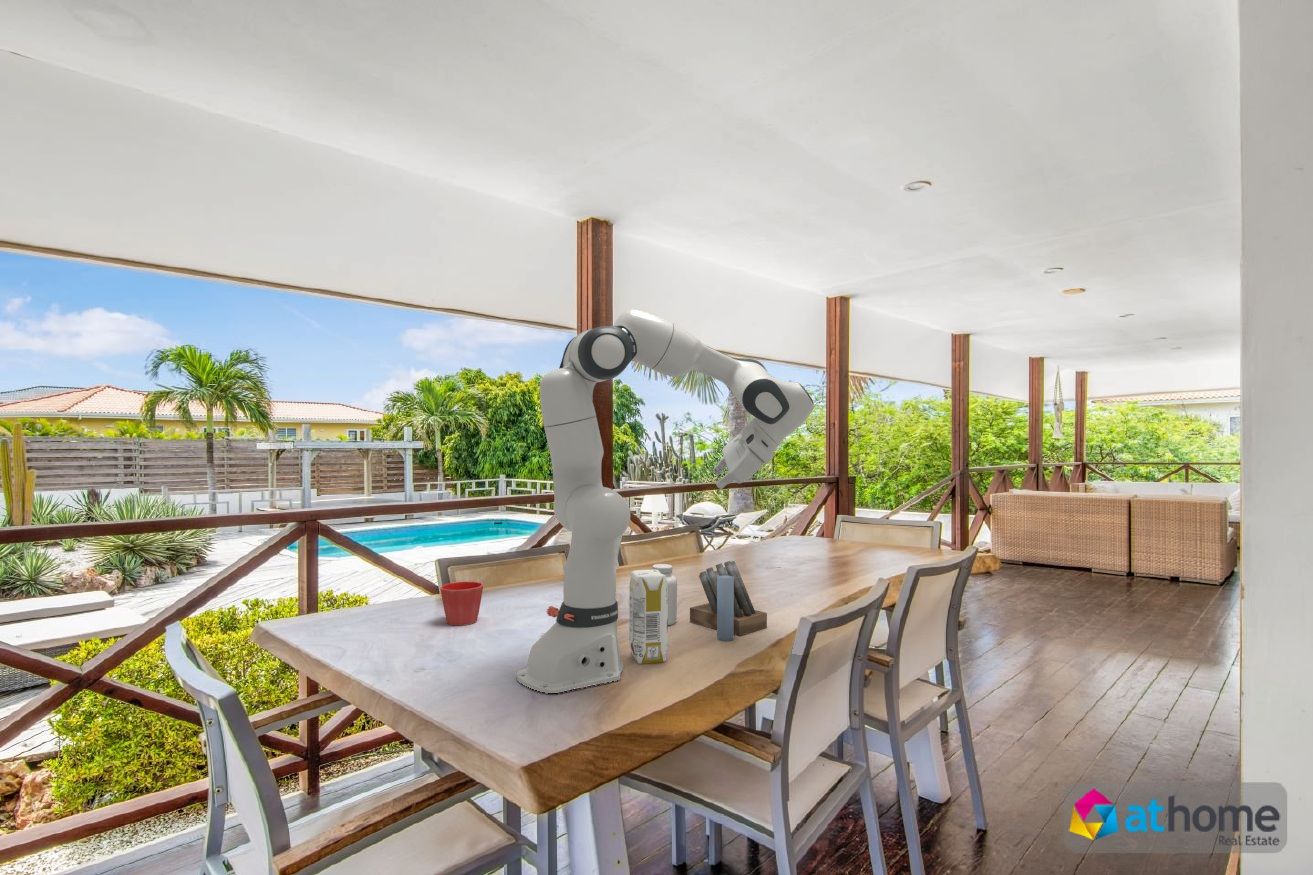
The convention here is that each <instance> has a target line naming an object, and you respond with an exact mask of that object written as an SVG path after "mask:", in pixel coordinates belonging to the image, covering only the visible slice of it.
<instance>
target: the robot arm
mask: <svg viewBox="0 0 1313 875" xmlns="http://www.w3.org/2000/svg"><path fill="white" fill-rule="evenodd" d="M631 362H635V363H639V364H641V365H642V366H645V367H647V368H648V369H651V370H652V371H654V372H657V373H659V374H662V375H665V376H668V377H672V378H682V377H683V376H686V375H687V374H689V373H690V372H691V371H696V372H699V373H701V374H703V375H706V376H708V377H711V378H712V379H714V380H717V381H719V382H722V383H723V385H725V387H726V388H728V390H729V391H730V393H731V394H732V395H733V396H734V397H735V399H736V400H737V401H738V403H739V405H740V406H741V407H742V409H743V410H744V411H746V413H747V414H748V415H751V416H753V418H752V419H751V420H750V421H749V422H748V423H747V424H746V425H744V427H743V428H742V429H741V430H740V431H739V433H738V434H737V435H736V436H735V437H734V438H732V439H731V440H730V441H729V442H728V443H726V445H724V447H723V449H722V454H723V456H722V457H721V458H720V460H719V461H718V463H717V465H716V466H714V468H713V469H712V473H713V474H714V475H715V476H718V477H719V476H720V475H721V474H722V473H723V471H724V469H725V468H727V470H728V471H727V472H726V473H725V475H724V476H723V477H720V478H718V479H717V481H716V482H715V485H716V487H717V488H718V489H720V490H723V489H724V488H725V487H726V486H727V485H729V484H731V483H733V482H734V481H735V482H736V483H737V484H742V483H744V482H746V481H747V480H748V479H750V478H751V477H752V476H753V475H755V474H756V473H757V472H758V471H759V470H760V469H761V468H762V467H763V465H764V463H765V464H766V465H768V464H769V463H771V461H772V460H773V458H774V455H775V451H776V449H777V448H779V446H780V445H781V444H782V442H784V440H785V438H787V437H788V436H789V435H791V434H793V433H794V432H795V431H797V429H798V428H799V427H800V426H801V425H803V423H804V422H806V420H807V419H808V418H809V417H810V415H811V414H812V413H813V411H814V408H815V404H814V400H813V398H812V396H811V395H810V393H809V391H807V390H806V388H805V387H804V386H803V385H802V384H801V383H799V382H794V381H793V382H792V381H791V382H790V381H785V380H782V379H778V378H776V377H773V376H772V374H770V373H769V372H768V370H767V369H766V367H765V366H764V364H763V363H761V362H760V361H758V360H757V359H753V358H746V357H745V358H744V357H743V358H740V357H738V358H737V357H733V356H731V355H729V354H725V353H724V352H721V351H720V350H716V349H714V348H712V347H711V346H709V345H706V344H705V343H703V342H701V341H700V340H699V339H698V338H697V337H695V335H693V334H692V333H690V332H689V331H688V330H686V329H684V328H683V327H681V326H680V325H678V324H676V323H675V322H672V321H670V320H667V319H665V318H663V317H662V316H658V315H655V314H653V313H651V312H647V311H645V310H640V309H636V308H631V309H627V310H625V311H623V312H622V313H621V314H620V315H619V316H618V318H616V320H615V322H614V324H613V325H607V326H606V325H603V326H597V327H594V328H590V329H587V330H583V331H582V332H579V334H577V335H575V336H574V337H573V338H572V339H570V340H569V342H568V343H567V345H566V347H565V349H564V351H563V356H562V357H561V361H560V364H559V368H556V369H553V370H551V371H549V372H548V373H546V374H545V375H544V376H543V377H542V378H541V380H540V382H539V383H540V384H539V399H540V400H539V401H540V411H541V418H542V424H543V428H544V432H545V437H546V441H547V447H548V450H549V451H548V452H549V455H550V460H551V468H552V481H553V482H552V485H553V497H554V499H553V507H552V508H553V512H554V515H555V518H556V519H557V521H558V523H559V524H560V526H562V527H563V528H564V529H566V530H567V531H569V532H571V540H570V544H569V549H568V550H569V551H568V555H567V558H566V559H565V561H564V564H563V586H562V587H563V588H562V589H563V601H562V602H561V605H560V607H559V608H557V607H554V606H552V605H550V606H548V607H547V609H546V615H547V616H549V617H552V618H556V619H555V623H554V624H553V625H552V626H550V628H549V629H548V630H547V631H546V632H545V633H544V634H543V635H542V636H541V637H540V638H539V639H538V640H537V641H536V642H535V643H534V644H532V646H531V648H530V651H529V654H528V660H527V661H528V663H527V667H524V668H523V669H520V670H517V671H516V681H517V682H519V683H520V684H521V683H522V684H523V686H524V685H525V686H524V687H526V686H527V687H526V688H528V687H529V688H528V689H530V688H531V689H530V690H532V689H534V690H533V691H535V690H537V691H536V692H538V691H540V692H539V693H542V692H545V693H544V694H548V693H557V692H563V691H565V690H569V689H574V688H578V687H584V686H588V685H593V684H598V683H604V684H608V683H607V682H609V683H612V681H614V682H617V680H618V681H620V680H621V679H620V678H621V673H622V672H623V671H624V668H625V667H624V664H623V662H622V661H623V660H622V657H621V653H620V646H619V640H618V639H619V638H618V629H617V627H618V626H617V623H618V619H619V604H618V603H619V602H618V601H617V598H616V597H617V594H616V593H617V563H618V557H619V552H620V547H621V544H622V543H621V542H622V540H623V539H622V538H623V534H624V533H625V532H626V530H627V529H628V527H629V525H630V521H631V510H630V506H629V503H628V502H627V500H626V499H625V498H624V497H622V495H620V493H618V492H617V491H616V490H614V489H612V488H609V487H606V486H604V485H603V480H602V463H603V462H602V460H603V457H604V454H605V453H604V445H603V441H602V436H601V433H600V428H599V423H598V418H597V413H596V409H595V406H594V402H593V401H594V398H593V395H594V394H593V393H594V389H595V386H596V384H597V383H601V382H605V381H608V380H611V379H614V378H616V377H618V376H619V375H621V374H622V373H623V372H624V371H625V370H626V368H627V367H628V365H629V364H630V363H631ZM522 684H521V685H522ZM563 693H564V692H563Z"/></svg>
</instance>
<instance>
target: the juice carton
mask: <svg viewBox="0 0 1313 875" xmlns="http://www.w3.org/2000/svg"><path fill="white" fill-rule="evenodd" d="M628 591H629V596H628V597H629V603H628V604H629V605H628V606H629V609H628V610H629V613H628V614H629V615H628V616H629V619H628V621H629V622H628V623H629V628H628V629H629V632H628V633H629V634H628V635H629V637H628V638H629V639H628V640H629V642H628V643H629V647H630V648H629V649H630V653H631V655H632V657H633V658H634V659H635V660H636V662H637V664H639V665H642V664H654V663H655V664H656V663H663V662H666V659H667V654H668V646H669V645H668V638H669V634H668V632H669V631H668V630H669V625H668V585H667V580H666V575H664V574H661V573H660V572H659V571H658V570H652V569H641V570H638V569H637V570H631V575H630V579H629V590H628Z"/></svg>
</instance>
